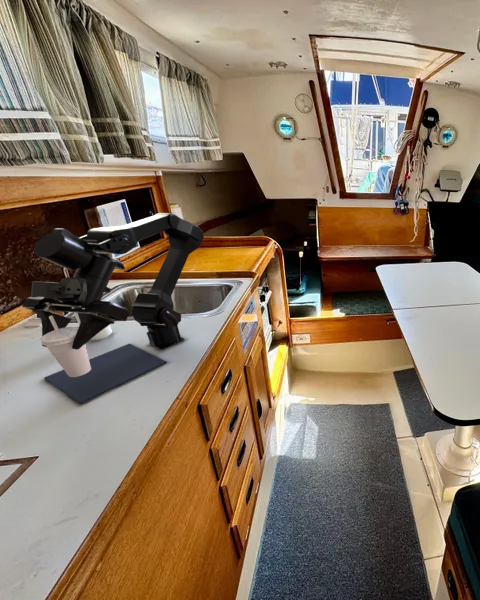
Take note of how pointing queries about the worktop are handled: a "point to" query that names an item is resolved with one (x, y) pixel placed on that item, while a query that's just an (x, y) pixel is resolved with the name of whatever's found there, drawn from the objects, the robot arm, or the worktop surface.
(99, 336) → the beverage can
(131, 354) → the mat
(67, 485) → the worktop surface
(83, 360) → the smoothie
